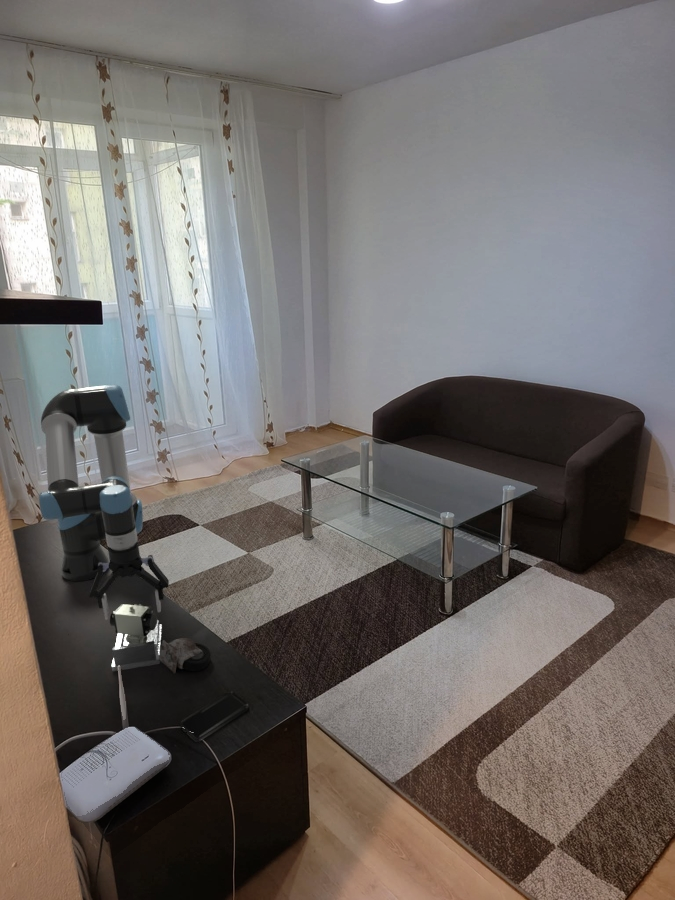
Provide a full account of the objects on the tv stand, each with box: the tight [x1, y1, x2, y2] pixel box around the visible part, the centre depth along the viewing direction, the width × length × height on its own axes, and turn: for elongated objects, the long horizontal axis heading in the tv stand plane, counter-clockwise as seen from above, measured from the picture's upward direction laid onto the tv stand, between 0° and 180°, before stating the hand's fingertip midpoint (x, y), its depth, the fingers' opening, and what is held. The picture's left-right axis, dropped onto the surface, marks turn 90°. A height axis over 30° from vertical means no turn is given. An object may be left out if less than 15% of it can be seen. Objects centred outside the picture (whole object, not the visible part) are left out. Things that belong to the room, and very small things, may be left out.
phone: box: [179, 691, 249, 743], centre depth 146 cm, size 8×1×15 cm
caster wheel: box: [160, 637, 211, 674], centre depth 164 cm, size 7×11×10 cm
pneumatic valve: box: [109, 603, 158, 645], centre depth 169 cm, size 6×12×12 cm, turn 79°
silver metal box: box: [111, 619, 163, 672], centre depth 170 cm, size 16×12×6 cm
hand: (133, 613), depth 168 cm, fingers open, 13 cm apart
